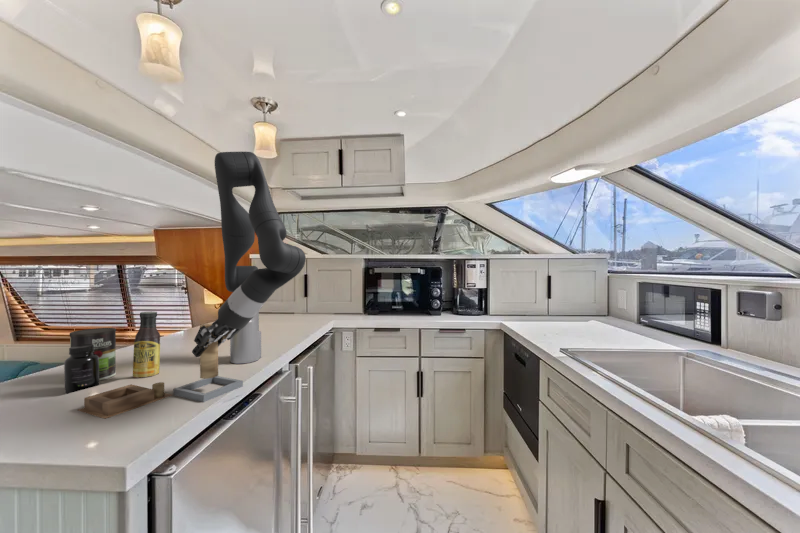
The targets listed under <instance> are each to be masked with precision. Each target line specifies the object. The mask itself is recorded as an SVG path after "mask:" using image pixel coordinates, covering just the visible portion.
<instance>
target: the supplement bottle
mask: <svg viewBox="0 0 800 533" xmlns="http://www.w3.org/2000/svg"><path fill="white" fill-rule="evenodd" d="M93 352H94V345H93V344H83V345H77V346H72V347H69V348H68V355H69V357H67V358H65V360H64V362H63V368H64V369H63V371H64V372H63V375H64V376H63V377H64V378H63V379H64V393H65V394H66V395H68V394H72V393H75V392H80V391H83V390H86V389H87V390H88V389H91V388H94V387H98V386H100V381H99V357H98V355H96V354H94V353H93Z"/></svg>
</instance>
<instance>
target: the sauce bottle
mask: <svg viewBox="0 0 800 533" xmlns="http://www.w3.org/2000/svg"><path fill="white" fill-rule="evenodd" d="M157 317H158V312H157V311H153V310H152V311H150V310H149V311H141V312H140V313H139V318H140V320H139V321H140V325H139V329H138V331H137V333H136V334H135V337H134V342H133V360H132V361H133V362H132V377H133V379H145V378H152V377H155V376H156V375H159V373H160V367H161V366H160V361H161V333H160V332H159V331H158V329H157Z"/></svg>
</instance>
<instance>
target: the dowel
mask: <svg viewBox="0 0 800 533" xmlns="http://www.w3.org/2000/svg"><path fill="white" fill-rule="evenodd" d="M211 325H212V323H204V324H200V325H199V329H200V328H201V327H202V326H205V327H206V328H208V327H210V326H211ZM211 334H212V333H211ZM212 335H213V334H212ZM213 336H214V335H213ZM214 337H215V336H214ZM208 341H209V338H208V340H207V342H208ZM199 371H200V372H199V378H200V379H207V378H213V377H216V376H219V347H218V340H217V341H216V342H212V343H211V344H210V345H209V346H208V347H207V349H206V350H205V351H204V352H203V353H202V354H201V355H200V356H199Z"/></svg>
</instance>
